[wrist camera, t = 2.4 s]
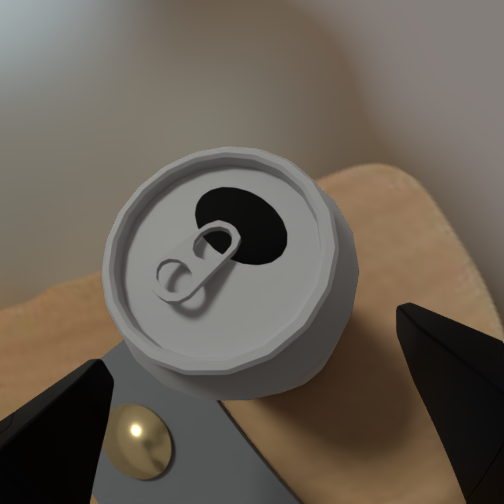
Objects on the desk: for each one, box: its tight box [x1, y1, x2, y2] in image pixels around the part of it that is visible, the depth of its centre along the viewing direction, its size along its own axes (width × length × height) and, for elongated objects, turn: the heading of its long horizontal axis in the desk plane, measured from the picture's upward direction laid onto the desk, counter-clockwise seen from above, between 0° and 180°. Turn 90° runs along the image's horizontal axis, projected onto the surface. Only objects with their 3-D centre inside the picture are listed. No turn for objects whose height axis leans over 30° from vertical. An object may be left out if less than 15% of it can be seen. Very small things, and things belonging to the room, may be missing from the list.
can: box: [101, 146, 359, 400], centre depth 13 cm, size 8×8×12 cm
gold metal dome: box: [103, 404, 173, 479], centre depth 16 cm, size 5×5×1 cm
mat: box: [92, 340, 303, 504], centre depth 16 cm, size 16×12×1 cm
